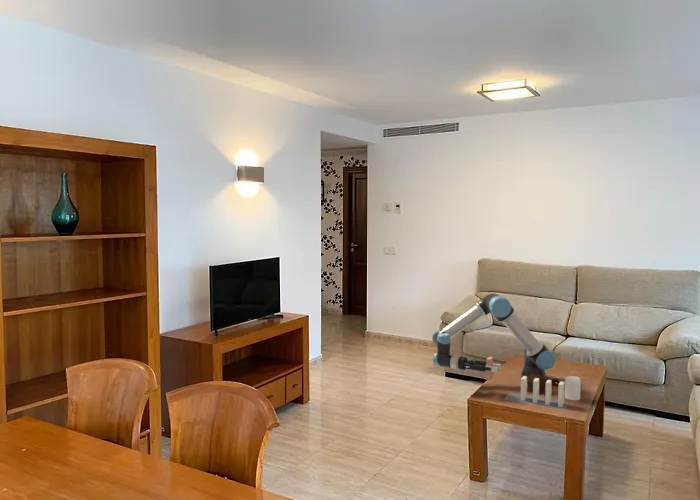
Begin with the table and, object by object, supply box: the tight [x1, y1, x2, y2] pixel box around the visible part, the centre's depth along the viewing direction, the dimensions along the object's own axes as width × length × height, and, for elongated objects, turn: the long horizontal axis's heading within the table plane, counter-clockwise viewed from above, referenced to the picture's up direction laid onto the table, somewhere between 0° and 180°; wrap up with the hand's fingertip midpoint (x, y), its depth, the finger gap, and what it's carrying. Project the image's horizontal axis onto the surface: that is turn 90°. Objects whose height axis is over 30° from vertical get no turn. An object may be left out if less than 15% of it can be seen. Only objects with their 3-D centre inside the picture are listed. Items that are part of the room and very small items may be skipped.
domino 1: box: [485, 356, 494, 381], centre depth 312 cm, size 2×6×12 cm, turn 150°
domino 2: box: [520, 376, 528, 401], centre depth 303 cm, size 2×6×12 cm, turn 150°
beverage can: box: [564, 375, 582, 401], centre depth 305 cm, size 8×8×12 cm
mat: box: [503, 392, 570, 411], centre depth 300 cm, size 13×32×1 cm, turn 60°
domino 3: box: [532, 378, 540, 403], centre depth 300 cm, size 2×6×12 cm, turn 150°
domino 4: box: [544, 379, 553, 405], centre depth 297 cm, size 2×6×12 cm, turn 150°
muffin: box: [527, 374, 548, 394], centre depth 317 cm, size 12×11×10 cm
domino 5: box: [557, 380, 565, 407], centre depth 293 cm, size 2×6×12 cm, turn 150°
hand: (498, 368), depth 310 cm, fingers closed on domino 1, 6 cm apart
